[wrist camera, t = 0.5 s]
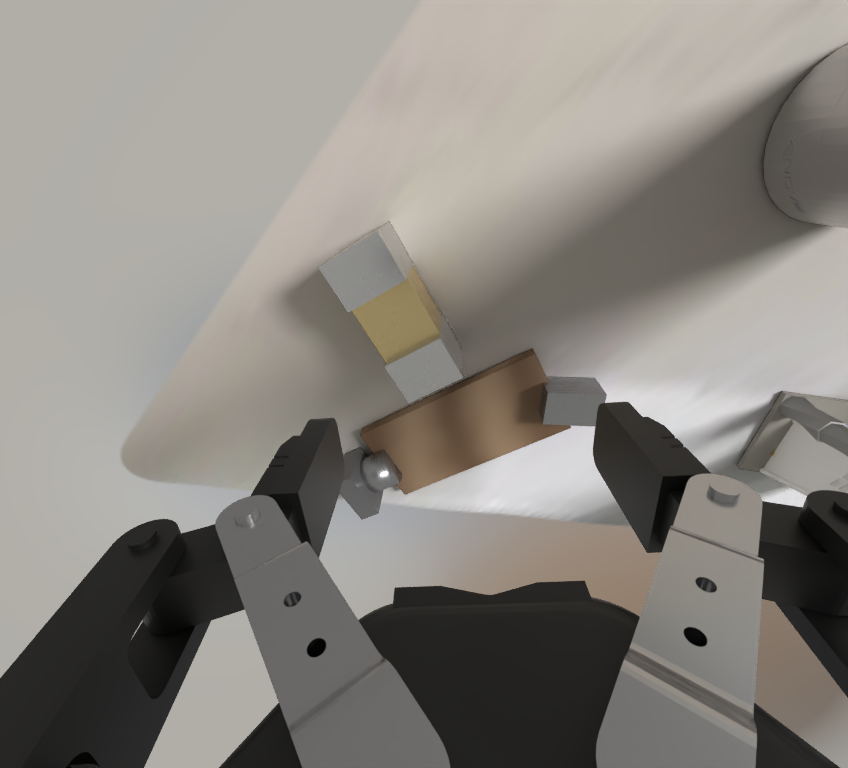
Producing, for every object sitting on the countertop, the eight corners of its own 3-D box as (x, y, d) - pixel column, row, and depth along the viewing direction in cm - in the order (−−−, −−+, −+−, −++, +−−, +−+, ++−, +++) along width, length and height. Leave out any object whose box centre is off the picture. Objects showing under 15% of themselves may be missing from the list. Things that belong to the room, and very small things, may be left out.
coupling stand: (573, 329, 29) (590, 351, 26) (606, 404, 32) (626, 434, 28) (333, 442, 35) (319, 472, 31) (377, 498, 38) (369, 532, 34)
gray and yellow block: (389, 220, 27) (377, 231, 22) (461, 347, 30) (463, 377, 26) (339, 252, 28) (318, 267, 23) (414, 370, 31) (408, 403, 27)
